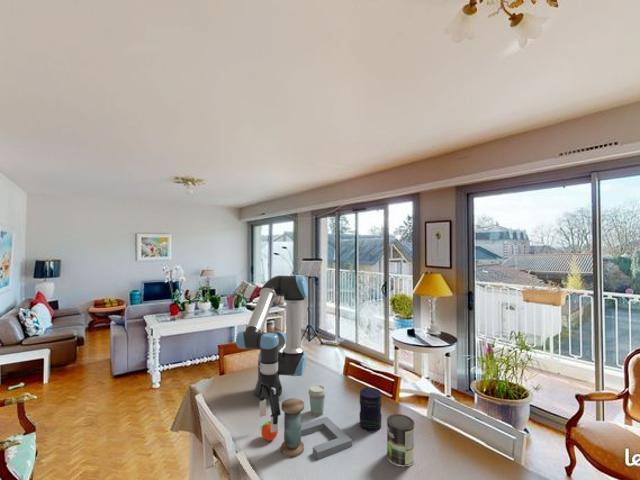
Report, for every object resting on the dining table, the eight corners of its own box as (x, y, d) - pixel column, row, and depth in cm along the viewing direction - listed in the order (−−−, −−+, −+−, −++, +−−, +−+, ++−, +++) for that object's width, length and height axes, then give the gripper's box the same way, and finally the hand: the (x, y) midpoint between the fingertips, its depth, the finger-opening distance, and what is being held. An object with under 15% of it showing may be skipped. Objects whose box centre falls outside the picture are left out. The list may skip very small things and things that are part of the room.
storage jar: (383, 421, 144) (383, 389, 145) (379, 433, 135) (379, 398, 136) (361, 417, 148) (361, 386, 148) (357, 429, 138) (357, 395, 139)
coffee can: (391, 468, 114) (391, 429, 114) (383, 450, 124) (383, 414, 125) (418, 466, 115) (418, 428, 115) (408, 448, 125) (408, 413, 125)
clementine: (261, 446, 126) (261, 429, 126) (256, 437, 132) (256, 420, 132) (280, 441, 130) (280, 423, 130) (274, 432, 136) (274, 415, 136)
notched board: (295, 432, 136) (295, 426, 136) (326, 422, 144) (326, 416, 144) (317, 459, 119) (317, 452, 119) (352, 446, 127) (352, 439, 127)
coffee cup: (324, 418, 147) (324, 393, 147) (306, 416, 148) (306, 391, 149) (327, 409, 155) (327, 385, 155) (310, 407, 157) (310, 383, 157)
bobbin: (277, 446, 126) (277, 401, 126) (297, 440, 130) (297, 396, 131) (286, 459, 118) (286, 411, 119) (307, 452, 123) (307, 406, 123)
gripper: (251, 364, 140) (250, 412, 140) (271, 384, 119) (270, 441, 118) (267, 361, 144) (266, 408, 143) (289, 380, 123) (288, 435, 122)
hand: (268, 423), depth 131 cm, fingers open, 13 cm apart
